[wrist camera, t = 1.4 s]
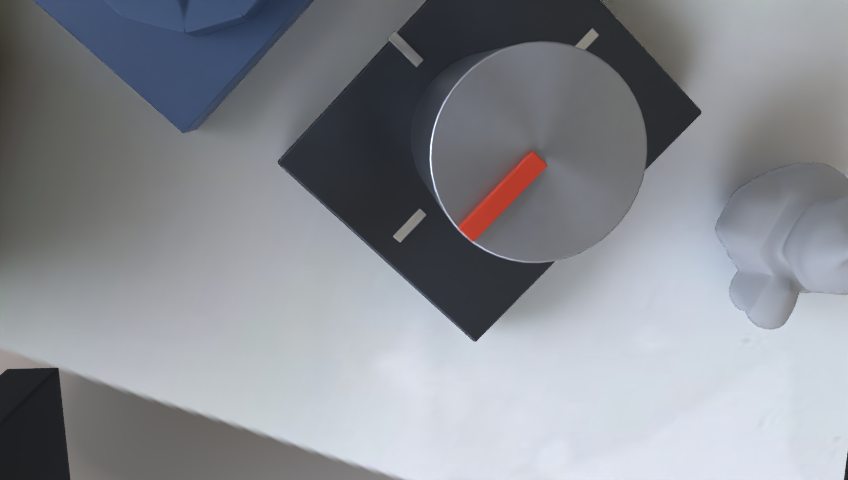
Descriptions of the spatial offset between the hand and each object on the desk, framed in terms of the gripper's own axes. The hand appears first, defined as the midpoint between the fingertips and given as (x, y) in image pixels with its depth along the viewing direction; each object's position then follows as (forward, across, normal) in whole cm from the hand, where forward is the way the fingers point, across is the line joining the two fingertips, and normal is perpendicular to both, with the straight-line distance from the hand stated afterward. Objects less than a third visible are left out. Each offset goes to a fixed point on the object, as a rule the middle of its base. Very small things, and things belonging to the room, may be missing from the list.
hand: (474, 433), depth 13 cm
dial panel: (+18, +3, +4) cm, 19 cm away
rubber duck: (+19, +14, -1) cm, 24 cm away
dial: (+16, +3, +4) cm, 17 cm away
